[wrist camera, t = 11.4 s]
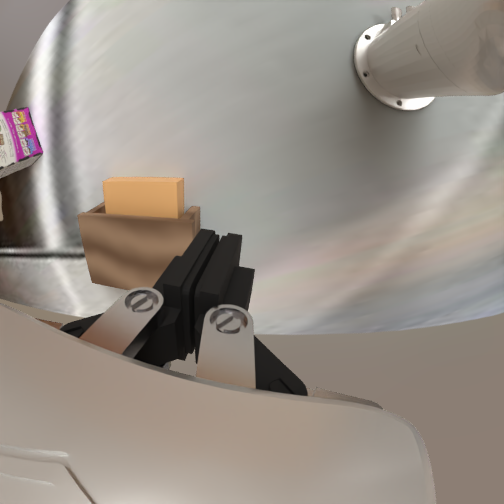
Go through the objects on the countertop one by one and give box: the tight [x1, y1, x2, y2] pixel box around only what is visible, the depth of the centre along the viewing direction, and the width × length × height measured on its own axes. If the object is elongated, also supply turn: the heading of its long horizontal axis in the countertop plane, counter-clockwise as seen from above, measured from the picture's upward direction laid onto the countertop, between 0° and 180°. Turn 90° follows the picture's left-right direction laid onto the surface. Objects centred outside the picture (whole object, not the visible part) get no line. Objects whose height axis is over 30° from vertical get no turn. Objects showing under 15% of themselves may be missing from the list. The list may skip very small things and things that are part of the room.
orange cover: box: [103, 177, 184, 219], centre depth 38 cm, size 14×12×3 cm
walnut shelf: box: [78, 202, 200, 290], centre depth 37 cm, size 12×18×6 cm, turn 86°
